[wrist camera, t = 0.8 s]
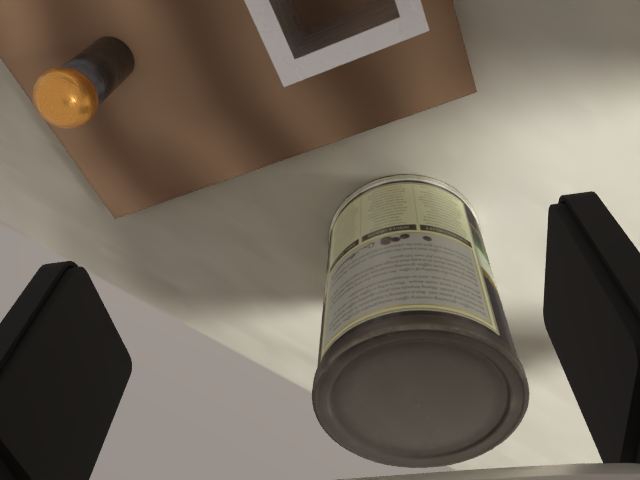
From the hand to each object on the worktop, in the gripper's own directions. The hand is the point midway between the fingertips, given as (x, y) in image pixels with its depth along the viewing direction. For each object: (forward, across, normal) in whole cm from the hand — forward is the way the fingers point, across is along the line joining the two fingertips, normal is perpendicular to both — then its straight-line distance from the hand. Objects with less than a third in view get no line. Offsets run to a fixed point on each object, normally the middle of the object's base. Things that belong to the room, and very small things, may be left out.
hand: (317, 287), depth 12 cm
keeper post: (+22, +12, 0) cm, 26 cm away
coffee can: (+24, -2, +15) cm, 28 cm away
